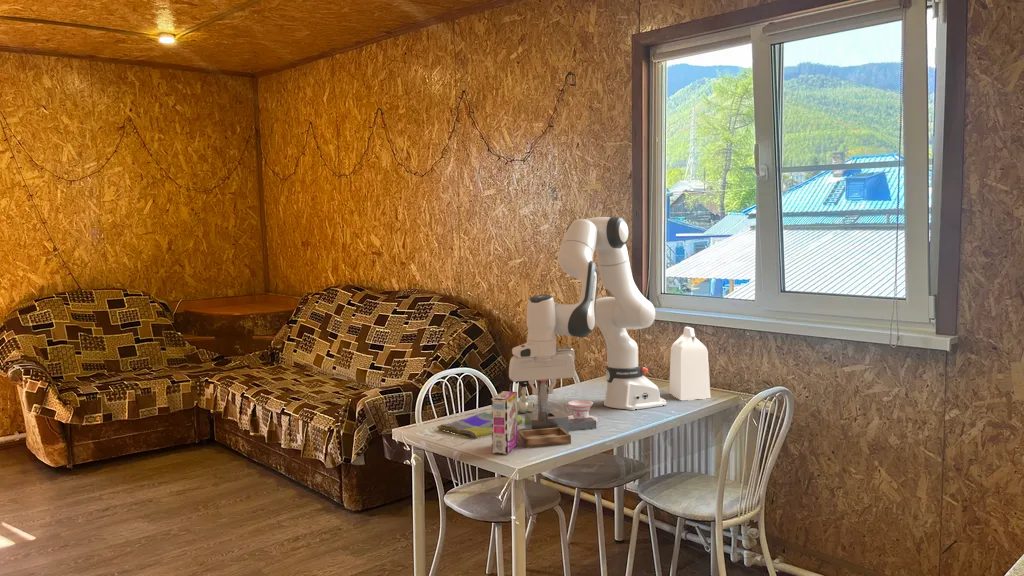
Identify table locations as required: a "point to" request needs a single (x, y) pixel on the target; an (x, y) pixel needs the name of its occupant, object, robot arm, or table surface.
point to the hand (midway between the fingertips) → (542, 393)
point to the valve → (524, 399)
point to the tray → (544, 437)
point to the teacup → (580, 409)
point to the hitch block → (558, 422)
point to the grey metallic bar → (542, 400)
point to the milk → (689, 368)
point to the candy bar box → (504, 422)
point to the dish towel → (472, 426)
